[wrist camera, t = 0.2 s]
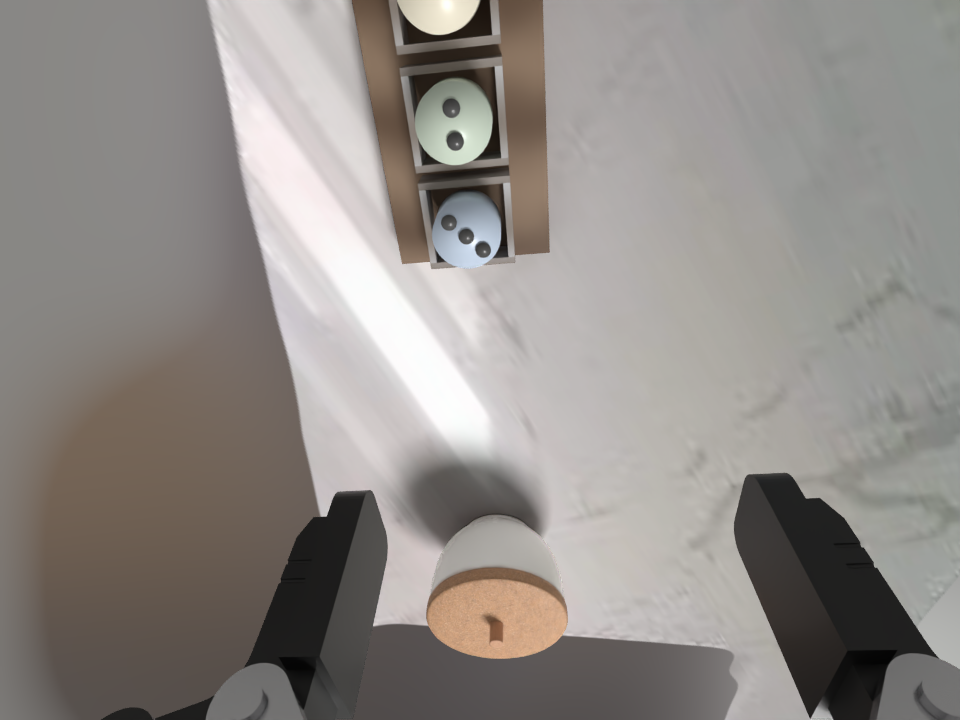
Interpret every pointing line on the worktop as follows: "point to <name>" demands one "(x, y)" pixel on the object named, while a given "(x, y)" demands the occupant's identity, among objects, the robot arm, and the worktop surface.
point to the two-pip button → (454, 121)
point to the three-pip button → (467, 229)
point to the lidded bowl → (497, 591)
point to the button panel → (515, 129)
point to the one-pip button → (439, 14)
